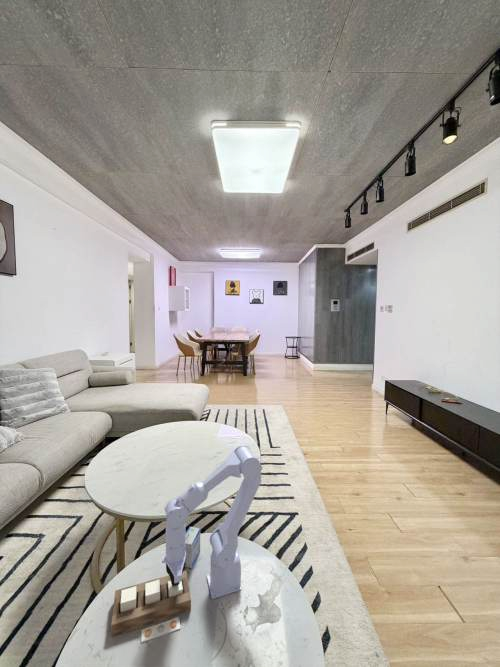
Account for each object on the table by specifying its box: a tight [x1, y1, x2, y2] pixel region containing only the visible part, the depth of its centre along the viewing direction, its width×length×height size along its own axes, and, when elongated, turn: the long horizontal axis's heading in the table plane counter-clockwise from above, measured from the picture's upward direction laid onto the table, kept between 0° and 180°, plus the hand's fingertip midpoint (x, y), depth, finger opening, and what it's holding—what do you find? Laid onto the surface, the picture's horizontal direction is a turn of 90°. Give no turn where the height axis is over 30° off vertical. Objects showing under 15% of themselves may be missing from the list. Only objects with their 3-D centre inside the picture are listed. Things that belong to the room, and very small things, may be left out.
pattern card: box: [140, 616, 181, 643], centre depth 78 cm, size 10×3×1 cm, turn 110°
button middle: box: [145, 580, 160, 606], centre depth 84 cm, size 4×4×3 cm
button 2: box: [168, 581, 183, 598], centre depth 86 cm, size 4×4×3 cm
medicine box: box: [185, 526, 201, 569], centre depth 100 cm, size 8×4×9 cm, turn 168°
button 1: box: [121, 586, 136, 613], centre depth 81 cm, size 4×4×3 cm
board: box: [110, 570, 192, 638], centre depth 84 cm, size 21×10×3 cm, turn 110°
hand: (175, 583), depth 86 cm, fingers closed
